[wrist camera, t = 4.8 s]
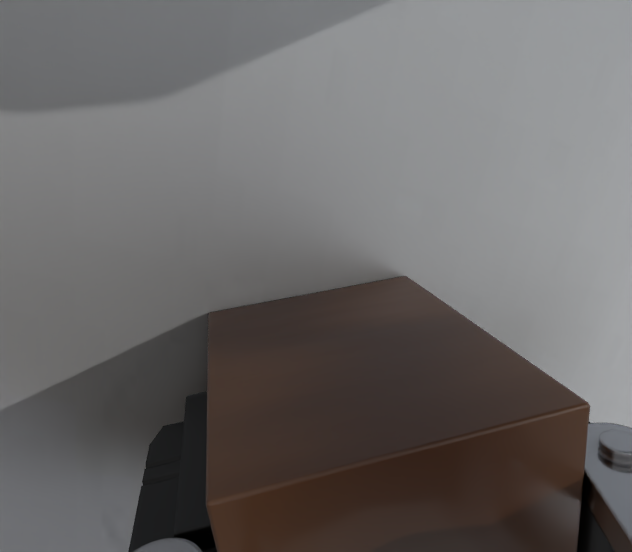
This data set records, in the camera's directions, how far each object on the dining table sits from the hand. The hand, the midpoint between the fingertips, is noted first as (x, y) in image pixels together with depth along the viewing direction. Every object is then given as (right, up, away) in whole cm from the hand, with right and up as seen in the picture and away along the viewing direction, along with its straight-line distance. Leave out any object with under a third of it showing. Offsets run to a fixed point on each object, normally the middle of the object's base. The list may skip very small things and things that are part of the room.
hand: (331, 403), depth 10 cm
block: (0, 0, +1) cm, 1 cm away
